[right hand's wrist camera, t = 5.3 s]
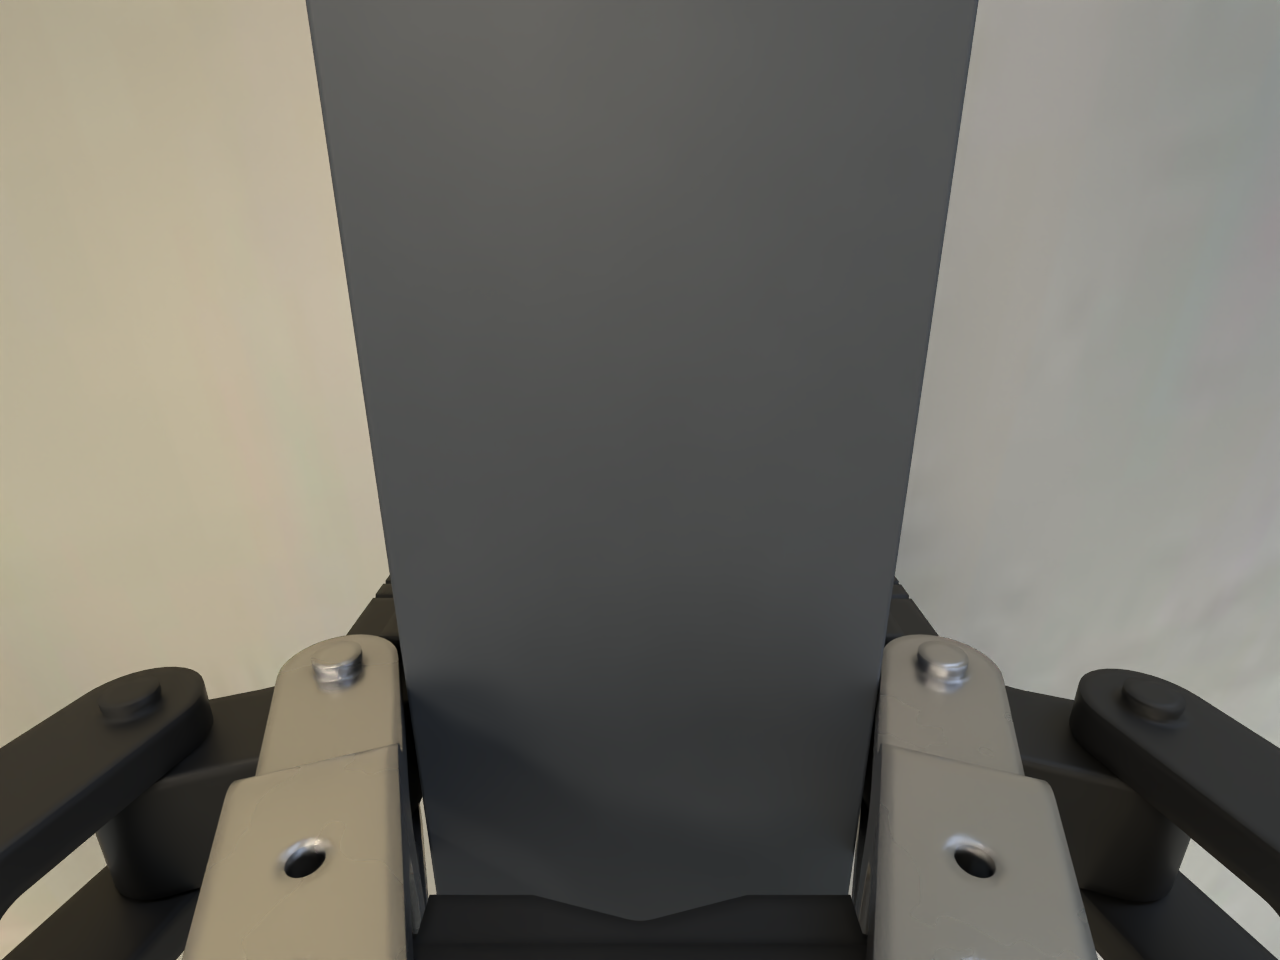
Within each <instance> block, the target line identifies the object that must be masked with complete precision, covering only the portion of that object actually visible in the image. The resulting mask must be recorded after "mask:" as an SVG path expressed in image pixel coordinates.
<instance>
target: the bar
mask: <svg viewBox="0 0 1280 960" xmlns="http://www.w3.org/2000/svg"><path fill="white" fill-rule="evenodd" d="M306 6H307V12H308V19H309V26H310V33H311V40H312V46H313V53H314V60H315V67H316V74H317V81H318V87H319V94H320V101H321V108H322V115H323V122H324V128H325V135H326V142H327V149H328V156H329V162H330V169H331V176H332V183H333V190H334V197H335V203H336V210H337V217H338V224H339V231H340V237H341V244H342V251H343V258H344V265H345V272H346V278H347V285H348V292H349V299H350V306H351V312H352V319H353V326H354V333H355V340H356V347H357V353H358V360H359V367H360V374H361V381H362V387H363V394H364V401H365V408H366V415H367V422H368V428H369V435H370V442H371V449H372V456H373V462H374V469H375V476H376V483H377V490H378V497H379V503H380V510H381V517H382V524H383V531H384V537H385V544H386V551H387V558H388V565H389V572H390V578H391V585H392V592H393V599H394V606H395V612H396V619H397V626H398V633H399V640H400V647H401V653H402V660H403V667H404V674H405V681H406V688H407V694H408V701H409V708H410V715H411V722H412V728H413V735H414V742H415V749H416V756H417V763H418V769H419V776H420V783H421V790H422V797H423V803H424V810H425V817H426V824H427V831H428V838H429V844H430V851H431V858H432V865H433V872H434V878H435V885H436V892H437V895H536V896H539V897H543V898H547V899H551V900H555V901H559V902H563V903H567V904H570V905H574V906H578V907H582V908H586V909H590V910H594V911H598V912H602V913H605V914H609V915H613V916H617V917H621V918H625V919H629V920H635V921H645V920H651V919H655V918H659V917H663V916H667V915H671V914H675V913H678V912H682V911H686V910H690V909H694V908H698V907H702V906H706V905H710V904H713V903H717V902H721V901H725V900H729V899H733V898H737V897H741V896H744V895H848V891H849V885H850V878H851V871H852V864H853V857H854V850H855V843H856V837H857V830H858V823H859V816H860V809H861V802H862V795H863V789H864V782H865V775H866V768H867V761H868V754H869V747H870V741H871V734H872V727H873V720H874V713H875V706H876V699H877V693H878V686H879V679H880V672H881V665H882V658H883V651H884V645H885V638H886V631H887V624H888V617H889V610H890V603H891V597H892V590H893V583H894V576H895V569H896V562H897V555H898V549H899V542H900V535H901V528H902V521H903V514H904V507H905V501H906V494H907V487H908V480H909V473H910V466H911V459H912V453H913V446H914V439H915V432H916V425H917V418H918V411H919V404H920V398H921V391H922V384H923V377H924V370H925V363H926V356H927V350H928V343H929V336H930V329H931V322H932V315H933V308H934V302H935V295H936V288H937V281H938V274H939V267H940V260H941V254H942V247H943V240H944V233H945V226H946V219H947V212H948V206H949V199H950V192H951V185H952V178H953V171H954V164H955V158H956V151H957V144H958V137H959V130H960V123H961V116H962V110H963V103H964V96H965V89H966V82H967V75H968V68H969V62H970V55H971V48H972V41H973V34H974V27H975V20H976V14H977V7H978V0H306Z"/></svg>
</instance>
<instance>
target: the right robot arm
mask: <svg viewBox="0 0 1280 960" xmlns="http://www.w3.org/2000/svg"><path fill="white" fill-rule="evenodd" d="M421 799H422V790H421V783H420V776H419V769H418V763H417V756H416V749H415V742H414V735H413V728H412V722H411V715H410V708H409V701H408V694H407V688H406V681H405V674H404V667H403V660H402V653H401V647H400V640H399V633H398V626H397V619H396V612H395V606H394V599H393V592H392V585H391V578H390V575H389V577H388V578H387V579H386V584H383V585H382V586H381V588H380V589H379V591H378V592H377V593H376V598H373V599H372V600H371V602H370V603H369V604H368V606H367V607H366V609H365V610H364V611H363V613H362V614H361V616H360V617H359V618H358V620H357V621H356V622H355V624H354V625H353V627H352V628H351V629H350V631H349V632H348V634H347V635H346V636H340V637H336V638H331V639H328V640H325V641H322V642H319V643H317V644H314V645H312V646H310V647H308V648H306V649H304V650H302V651H301V652H299V653H297V654H296V655H294V656H293V657H292V658H291V659H289V660H288V661H287V662H286V663H285V664H284V665H283V667H282V668H281V670H280V671H279V673H278V676H277V679H276V684H275V686H274V687H270V688H266V689H261V690H257V691H251V692H246V693H241V694H236V695H231V696H226V697H221V698H216V699H211V700H209V699H208V695H207V692H206V688H205V684H204V681H203V679H202V676H201V675H200V674H199V673H197V672H195V671H193V670H191V669H187V668H182V667H162V668H154V669H148V670H143V671H139V672H136V673H132V674H129V675H126V676H123V677H120V678H117V679H115V680H112V681H110V682H107V683H105V684H103V685H101V686H99V687H97V688H95V689H94V690H92V691H90V692H88V693H87V694H85V695H83V696H82V697H80V698H79V699H77V700H76V701H74V702H72V703H71V704H69V705H68V706H66V707H65V708H63V709H61V710H60V711H58V712H57V713H55V714H54V715H52V716H50V717H49V718H47V719H46V720H44V721H43V722H41V723H39V724H38V725H36V726H35V727H33V728H32V729H30V730H28V731H27V732H25V733H24V734H22V735H21V736H19V737H17V738H16V739H14V740H13V741H11V742H10V743H8V744H6V745H5V746H3V747H2V748H0V920H1V918H2V916H3V915H4V914H5V912H6V911H7V910H8V908H9V907H10V906H11V905H12V904H13V903H14V901H15V900H16V899H17V898H19V897H20V896H21V895H22V894H23V893H24V892H25V891H26V890H28V889H29V888H30V887H31V886H32V885H34V884H35V883H36V882H37V881H38V880H40V879H41V878H42V877H43V876H44V875H45V874H47V873H48V872H49V871H50V870H51V869H53V868H54V867H55V866H56V865H57V864H59V863H60V862H61V861H62V860H63V859H65V858H66V857H67V856H68V855H69V854H71V853H72V852H73V851H74V850H75V849H76V848H78V847H79V846H80V845H81V844H82V843H84V842H85V841H86V840H87V839H88V838H90V837H91V836H92V835H93V834H94V833H96V836H97V839H98V841H99V844H100V847H101V850H102V852H103V855H104V858H105V860H106V863H107V866H106V867H105V868H103V869H102V870H101V871H100V872H99V873H98V874H97V875H96V876H95V877H93V878H92V879H91V880H90V881H89V882H88V883H87V884H86V885H85V886H83V887H82V888H81V889H80V890H79V891H78V892H77V893H76V894H75V895H73V896H72V897H71V898H70V899H69V900H68V901H67V902H66V903H64V904H63V905H62V906H61V907H60V908H59V909H58V910H57V911H56V912H54V913H53V914H52V915H51V916H50V917H49V918H48V919H47V920H46V921H44V922H43V923H42V924H41V925H40V926H39V927H38V928H37V929H36V930H34V931H33V932H32V933H31V934H30V935H29V936H28V937H27V938H26V939H24V940H23V941H22V942H21V943H20V944H19V945H18V946H17V947H15V948H14V949H13V950H12V951H11V952H10V953H9V954H8V955H7V956H5V957H4V958H3V959H2V960H176V959H177V958H178V957H179V956H180V955H181V953H182V952H183V951H184V954H183V958H182V960H1098V958H1097V954H1096V951H1097V952H1098V953H1099V955H1100V956H1101V957H1102V958H1103V959H1104V960H1278V959H1277V958H1276V957H1275V956H1273V955H1272V954H1271V953H1270V952H1269V951H1268V950H1267V949H1266V948H1265V947H1263V946H1262V945H1261V944H1260V943H1259V942H1258V941H1257V940H1256V939H1255V938H1253V937H1252V936H1251V935H1250V934H1249V933H1248V932H1247V931H1246V930H1244V929H1243V928H1242V927H1241V926H1240V925H1239V924H1238V923H1237V922H1236V921H1234V920H1233V919H1232V918H1231V917H1230V916H1229V915H1228V914H1227V913H1226V912H1224V911H1223V910H1222V909H1221V908H1220V907H1219V906H1218V905H1217V904H1216V903H1214V902H1213V901H1212V900H1211V899H1210V898H1209V897H1208V896H1207V895H1206V894H1204V893H1203V892H1202V891H1201V890H1200V889H1199V888H1198V887H1197V886H1195V885H1194V884H1193V883H1192V882H1191V881H1190V880H1189V879H1188V878H1187V877H1185V876H1184V875H1183V874H1182V873H1181V872H1180V871H1179V868H1180V865H1181V862H1182V860H1183V857H1184V855H1185V852H1186V849H1187V847H1188V844H1189V841H1190V839H1191V838H1192V839H1193V840H1194V841H1195V842H1196V843H1198V844H1199V845H1200V846H1201V847H1202V848H1204V849H1205V850H1206V851H1207V852H1208V853H1209V854H1211V855H1212V856H1213V857H1214V858H1215V859H1217V860H1218V861H1219V862H1220V863H1221V864H1223V865H1224V866H1225V867H1226V868H1227V869H1229V870H1230V871H1231V872H1232V873H1233V874H1235V875H1236V876H1237V877H1238V878H1239V879H1241V880H1242V881H1243V882H1244V883H1245V884H1246V885H1248V886H1249V887H1250V888H1251V889H1252V890H1254V891H1255V892H1256V893H1257V894H1258V895H1260V896H1261V897H1262V898H1263V899H1264V900H1265V901H1266V902H1267V903H1268V904H1269V905H1270V906H1271V907H1272V908H1273V909H1274V910H1275V911H1276V913H1277V914H1278V915H1279V917H1280V748H1278V747H1277V746H1275V745H1274V744H1272V743H1270V742H1269V741H1267V740H1266V739H1264V738H1263V737H1261V736H1259V735H1258V734H1256V733H1255V732H1253V731H1252V730H1250V729H1248V728H1247V727H1245V726H1244V725H1242V724H1241V723H1239V722H1237V721H1236V720H1234V719H1233V718H1231V717H1230V716H1228V715H1226V714H1225V713H1223V712H1222V711H1220V710H1219V709H1217V708H1215V707H1214V706H1212V705H1211V704H1209V703H1208V702H1206V701H1204V700H1203V699H1201V698H1200V697H1198V696H1196V695H1195V694H1193V693H1191V692H1190V691H1188V690H1186V689H1184V688H1182V687H1180V686H1178V685H1176V684H1173V683H1171V682H1168V681H1166V680H1163V679H1161V678H1158V677H1155V676H1152V675H1148V674H1144V673H1140V672H1135V671H1130V670H1122V669H1100V670H1095V671H1091V672H1089V673H1087V674H1085V675H1084V676H1083V677H1082V678H1081V680H1080V682H1079V685H1078V689H1077V692H1076V696H1075V700H1070V699H1064V698H1059V697H1054V696H1049V695H1044V694H1039V693H1034V692H1029V691H1024V690H1020V689H1015V688H1012V687H1008V686H1005V684H1004V679H1003V676H1002V673H1001V671H1000V670H999V668H998V667H997V665H996V664H995V663H994V662H993V661H992V660H991V659H989V658H988V657H987V656H986V655H984V654H983V653H981V652H979V651H978V650H976V649H974V648H972V647H970V646H968V645H966V644H963V643H961V642H958V641H955V640H952V639H949V638H944V637H940V636H938V634H937V633H936V632H935V630H934V629H933V628H932V626H931V625H930V623H929V622H928V621H927V619H926V618H925V617H924V615H923V614H922V613H921V611H920V610H919V608H918V607H917V606H916V604H915V603H914V602H913V600H912V599H909V595H908V593H907V592H906V591H905V589H904V588H903V587H902V585H899V581H898V580H897V578H896V577H895V576H894V583H893V590H892V597H891V603H890V610H889V617H888V624H887V631H886V638H885V645H884V651H883V658H882V665H881V672H880V679H879V686H878V693H877V699H876V706H875V713H874V720H873V727H872V734H871V741H870V747H869V754H868V761H867V768H866V775H865V782H864V789H863V795H862V802H861V809H860V816H859V823H858V830H857V837H856V850H855V862H854V875H853V888H852V899H851V895H744V896H741V897H737V898H733V899H729V900H725V901H721V902H717V903H713V904H710V905H706V906H702V907H698V908H694V909H690V910H686V911H682V912H678V913H675V914H671V915H667V916H663V917H659V918H655V919H651V920H645V921H635V920H629V919H625V918H621V917H617V916H613V915H609V914H605V913H602V912H598V911H594V910H590V909H586V908H582V907H578V906H574V905H570V904H567V903H563V902H559V901H555V900H551V899H547V898H543V897H539V896H536V895H429V899H428V888H427V875H426V862H425V850H424V837H423V824H422V816H421V809H420V801H421Z"/></svg>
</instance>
